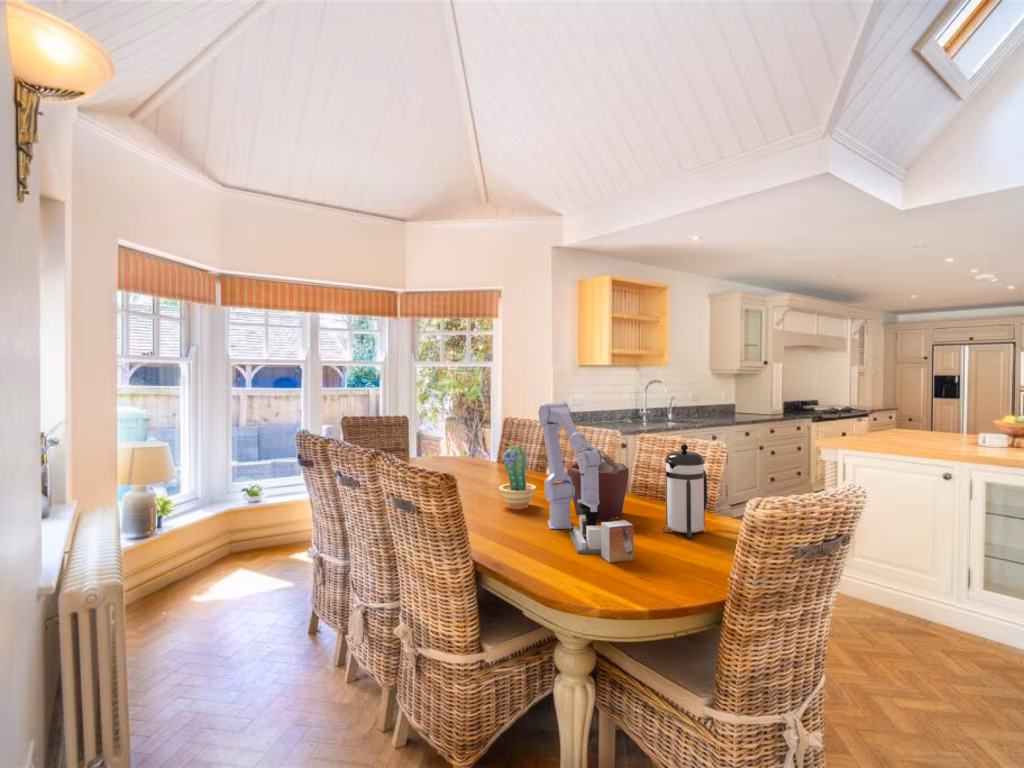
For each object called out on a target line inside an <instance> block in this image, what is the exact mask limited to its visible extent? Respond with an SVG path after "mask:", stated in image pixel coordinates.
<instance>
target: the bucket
mask: <svg viewBox="0 0 1024 768" xmlns="http://www.w3.org/2000/svg"><path fill="white" fill-rule="evenodd" d="M597 449H598V450H599V451H600V453H601V455H602V463H601V465H600V466H598V476H599V504H598V506H597V509H600V510H601V513H600V514H599V517H598V519H597V520H610V519H613V518H616V517H620V516H621V517H622V514H623V508H624V504H625V503H624V502H625V499H626V494H627V487H628V482H629V477H630V476H629V475H630V474H629V472H630V471H629V469H630V468H629V467H627V466H626V465H625V464H624V463H620V462H615V461H614V460H613V459H612V458H611V456H609V455H608V454H606V453H605V451H603V450H601V449H599V448H597ZM567 475H568V476H570V477H571V480H572V483H573V485H574V488H575V494H574V497H573V498H572V501H573V505H574V510H575V515H576V516H577V515H578V516H577V517H579V515H583V511H582V509H581V506H580V504H582V503H578V501H577V500H580V499H581V473H580V471H579V466H578V463H577V462H575V463H572V464H571V465H569V466H567ZM621 517H620V518H621ZM616 519H617V518H616ZM613 520H614V519H613ZM610 521H611V520H610Z"/></svg>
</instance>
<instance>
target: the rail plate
mask: <svg viewBox="0 0 1024 768" xmlns="http://www.w3.org/2000/svg"><path fill="white" fill-rule="evenodd" d="M572 527H573V528H572V529H573V530H572V531H569V537H570V539H571V541H572V544H573V546H574V548H575V551H576V552H577V554H601V524H600V525H597V526H586V537H583V536H582V534H581V532H580V527H579V525H576V526H575V525H572Z"/></svg>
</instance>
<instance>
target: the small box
mask: <svg viewBox="0 0 1024 768" xmlns="http://www.w3.org/2000/svg"><path fill="white" fill-rule="evenodd" d="M600 525H601V553H600V555H601V556H600V557H602V559H604V560H606V561H607V562H608V563H615V562H616V563H617V562H627V561H633V560H634V524H633V523H630V522H629V521H627V520H626V519H622V520H613V521H600Z"/></svg>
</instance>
